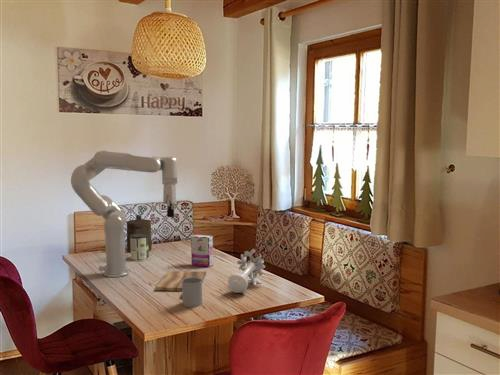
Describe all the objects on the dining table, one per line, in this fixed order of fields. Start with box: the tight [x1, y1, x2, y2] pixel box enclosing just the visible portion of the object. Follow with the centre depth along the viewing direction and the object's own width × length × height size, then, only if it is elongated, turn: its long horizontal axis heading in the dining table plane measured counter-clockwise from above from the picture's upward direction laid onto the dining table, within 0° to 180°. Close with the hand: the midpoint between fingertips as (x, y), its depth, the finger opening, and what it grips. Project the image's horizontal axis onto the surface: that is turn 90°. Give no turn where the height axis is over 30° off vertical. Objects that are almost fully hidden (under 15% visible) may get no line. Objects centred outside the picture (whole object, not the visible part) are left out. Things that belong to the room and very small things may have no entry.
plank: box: [156, 270, 186, 292], centre depth 252 cm, size 9×28×1 cm, turn 178°
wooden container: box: [126, 214, 153, 253], centre depth 320 cm, size 15×15×22 cm
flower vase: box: [227, 248, 266, 294], centre depth 241 cm, size 13×18×25 cm
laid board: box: [176, 270, 207, 292], centre depth 251 cm, size 10×28×2 cm, turn 178°
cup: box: [181, 278, 203, 308], centre depth 220 cm, size 8×8×10 cm
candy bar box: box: [190, 234, 214, 268], centre depth 282 cm, size 11×5×16 cm, turn 68°
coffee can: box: [130, 233, 150, 262], centre depth 298 cm, size 10×10×14 cm
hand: (170, 216), depth 267 cm, fingers closed
